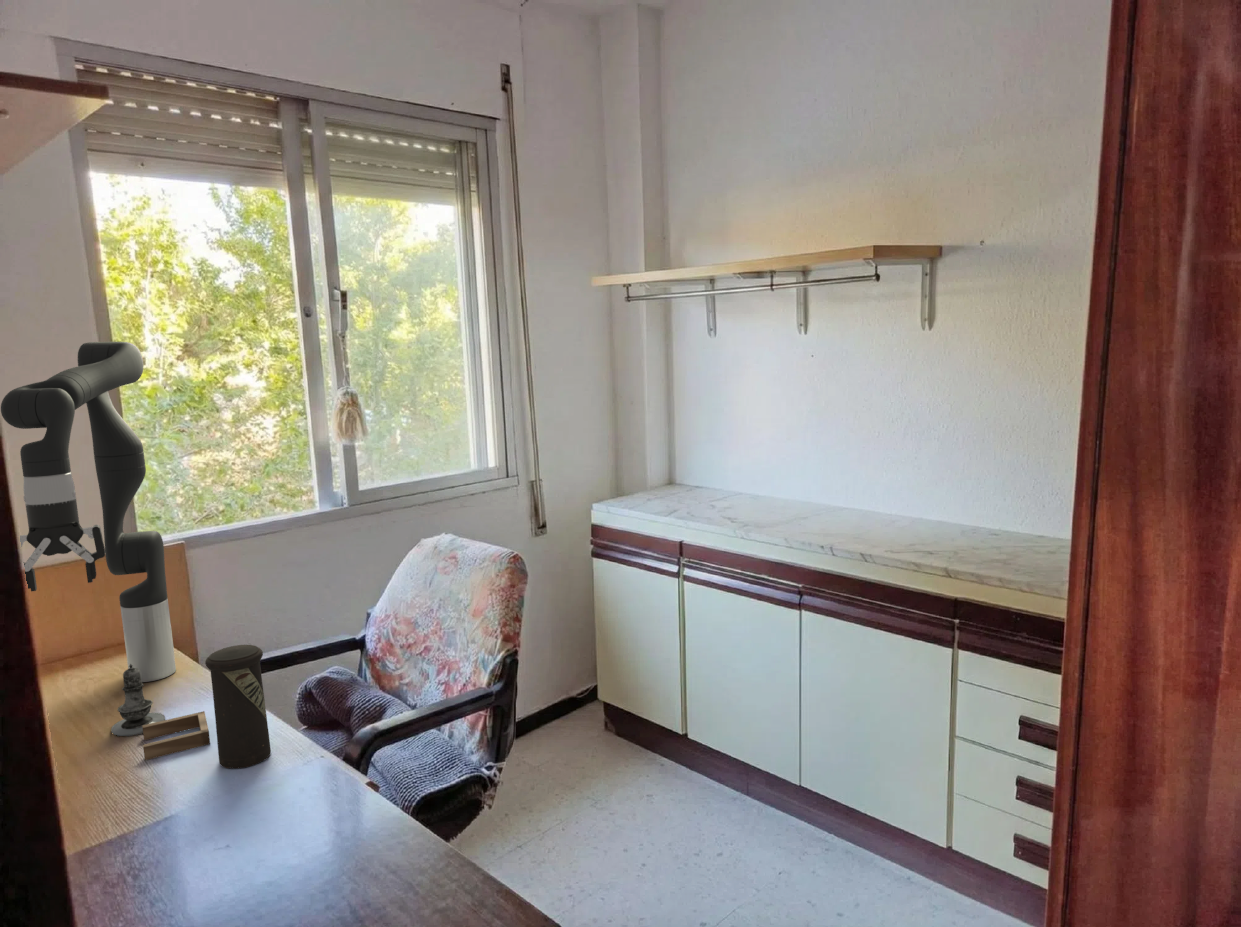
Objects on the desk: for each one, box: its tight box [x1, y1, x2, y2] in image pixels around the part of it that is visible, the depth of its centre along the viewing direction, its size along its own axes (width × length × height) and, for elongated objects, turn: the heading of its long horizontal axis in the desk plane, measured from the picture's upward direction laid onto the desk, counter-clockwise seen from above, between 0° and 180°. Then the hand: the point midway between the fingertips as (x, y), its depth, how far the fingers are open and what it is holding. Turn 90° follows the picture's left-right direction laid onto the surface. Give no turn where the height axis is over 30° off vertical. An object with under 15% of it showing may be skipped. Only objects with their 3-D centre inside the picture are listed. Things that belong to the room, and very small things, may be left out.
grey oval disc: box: [110, 712, 166, 737], centre depth 155 cm, size 9×9×1 cm
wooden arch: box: [142, 710, 211, 761], centre depth 148 cm, size 10×10×2 cm
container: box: [204, 644, 272, 769], centre depth 139 cm, size 9×9×20 cm
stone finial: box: [117, 664, 154, 729], centre depth 154 cm, size 6×6×12 cm
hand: (62, 586), depth 145 cm, fingers open, 8 cm apart
